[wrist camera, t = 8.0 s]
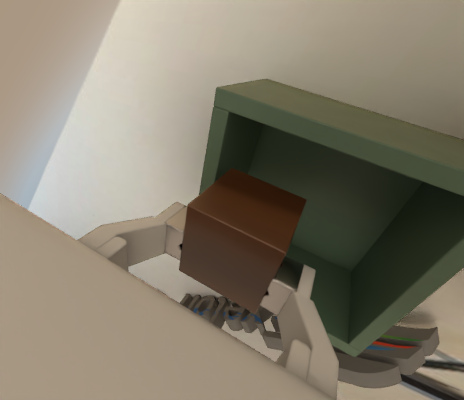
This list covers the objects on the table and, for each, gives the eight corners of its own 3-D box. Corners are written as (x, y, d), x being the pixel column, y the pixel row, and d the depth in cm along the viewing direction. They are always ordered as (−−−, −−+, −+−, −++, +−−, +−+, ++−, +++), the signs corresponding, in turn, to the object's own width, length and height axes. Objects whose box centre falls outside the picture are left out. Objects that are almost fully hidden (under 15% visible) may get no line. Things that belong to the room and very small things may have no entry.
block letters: (433, 313, 18) (457, 397, 13) (435, 328, 18) (459, 414, 14) (186, 294, 31) (157, 332, 27) (191, 302, 32) (163, 342, 27)
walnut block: (231, 166, 12) (186, 204, 9) (307, 199, 11) (286, 253, 8) (218, 224, 14) (178, 270, 11) (279, 255, 13) (255, 314, 10)
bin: (265, 78, 15) (216, 86, 10) (470, 141, 12) (548, 199, 7) (228, 216, 22) (187, 264, 17) (356, 277, 19) (354, 358, 14)
